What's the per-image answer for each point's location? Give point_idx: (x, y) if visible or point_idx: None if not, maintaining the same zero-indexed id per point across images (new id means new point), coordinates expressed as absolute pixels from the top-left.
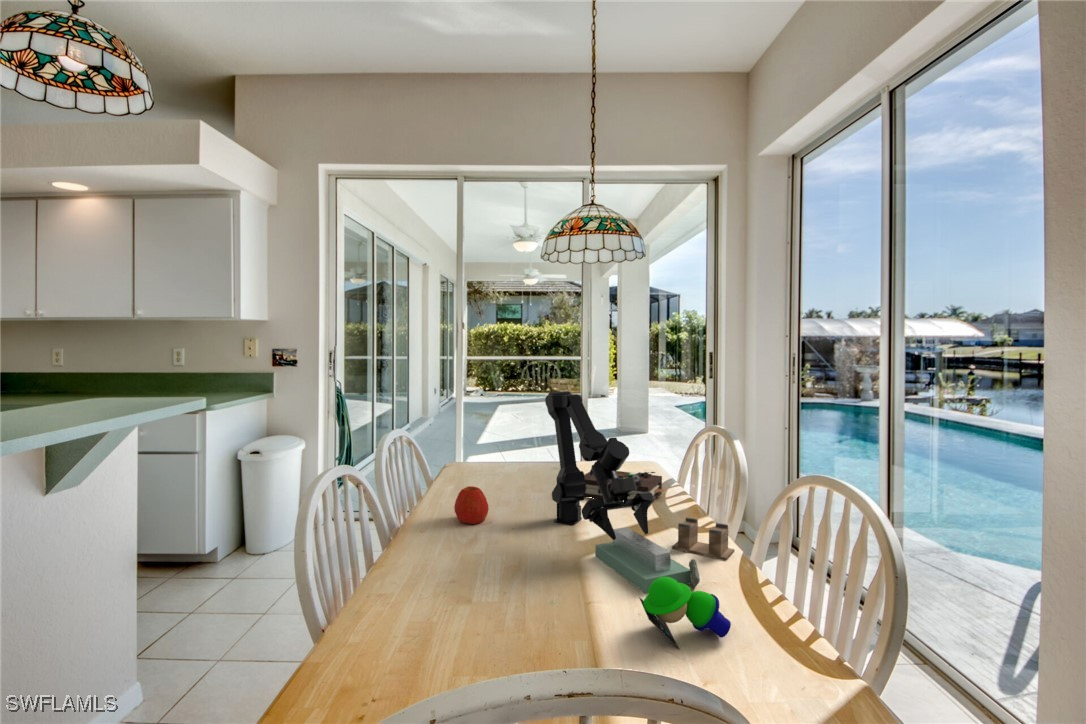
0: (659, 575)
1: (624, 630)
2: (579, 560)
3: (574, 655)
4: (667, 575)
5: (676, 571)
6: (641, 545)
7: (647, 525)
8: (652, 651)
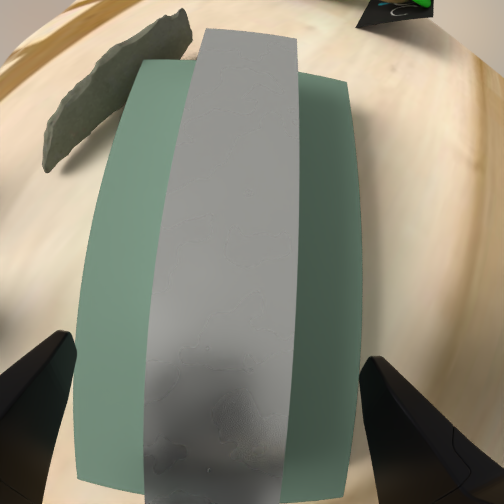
0: None
1: (435, 61)
2: None
3: (500, 80)
4: None
5: None
6: (291, 140)
7: (23, 358)
8: None
